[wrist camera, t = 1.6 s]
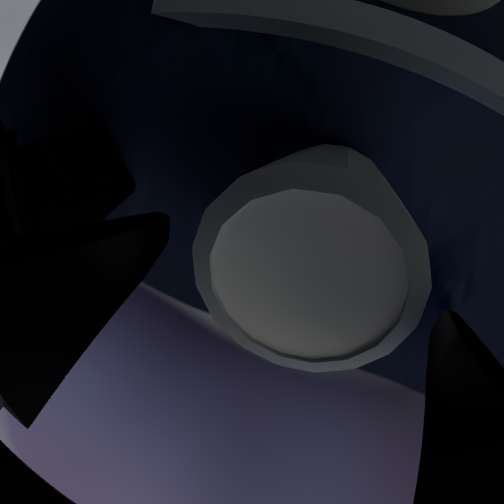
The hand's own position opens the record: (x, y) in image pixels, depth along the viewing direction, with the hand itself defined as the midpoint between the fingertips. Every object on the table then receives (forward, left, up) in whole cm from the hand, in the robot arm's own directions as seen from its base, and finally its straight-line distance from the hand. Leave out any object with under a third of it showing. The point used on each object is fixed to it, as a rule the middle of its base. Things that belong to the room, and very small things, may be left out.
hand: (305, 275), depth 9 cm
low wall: (+6, +5, -6) cm, 10 cm away
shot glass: (0, 0, -6) cm, 6 cm away
